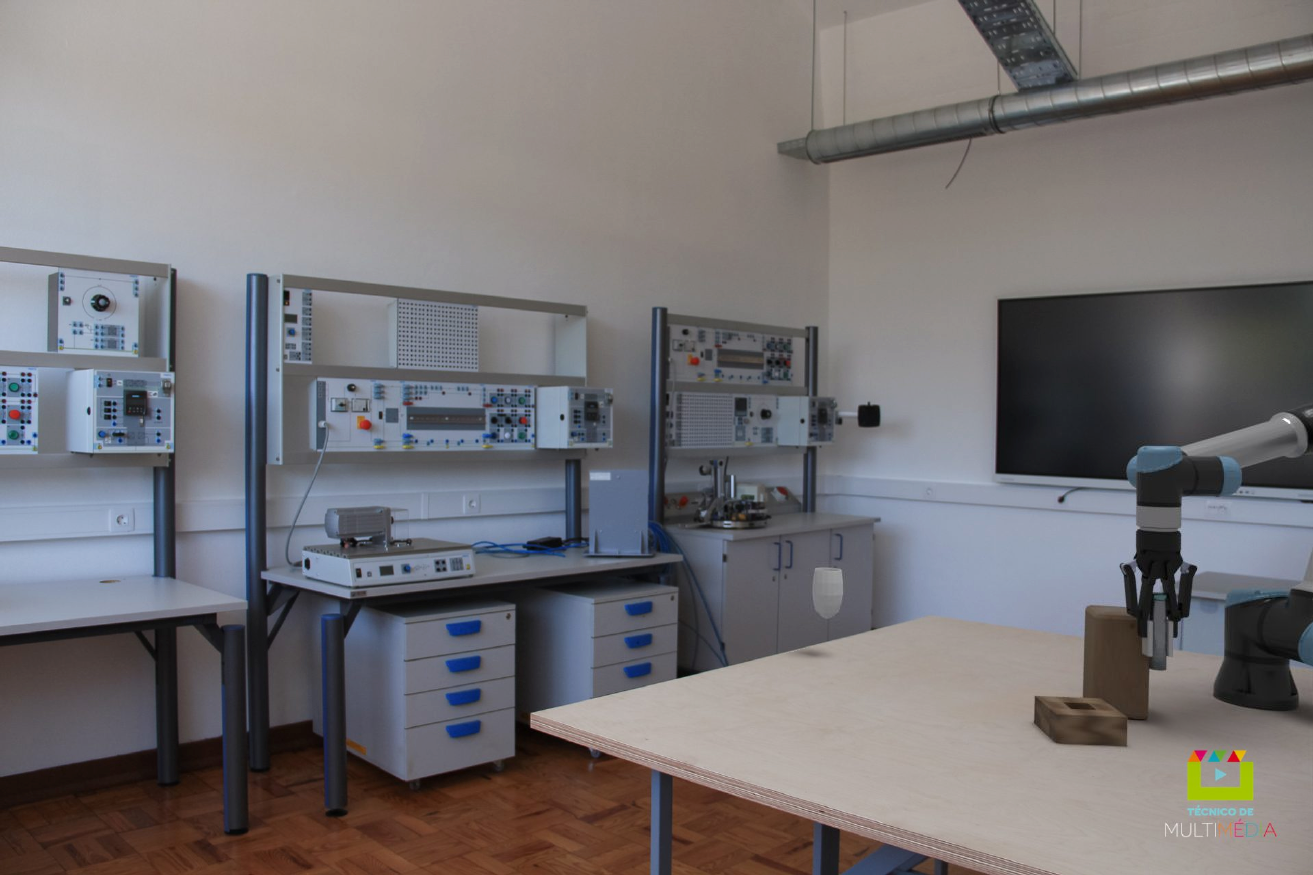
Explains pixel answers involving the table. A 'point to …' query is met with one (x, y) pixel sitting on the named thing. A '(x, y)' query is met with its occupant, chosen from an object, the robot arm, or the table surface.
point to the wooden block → (1115, 661)
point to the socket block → (1080, 720)
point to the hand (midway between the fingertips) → (1157, 654)
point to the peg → (1158, 631)
